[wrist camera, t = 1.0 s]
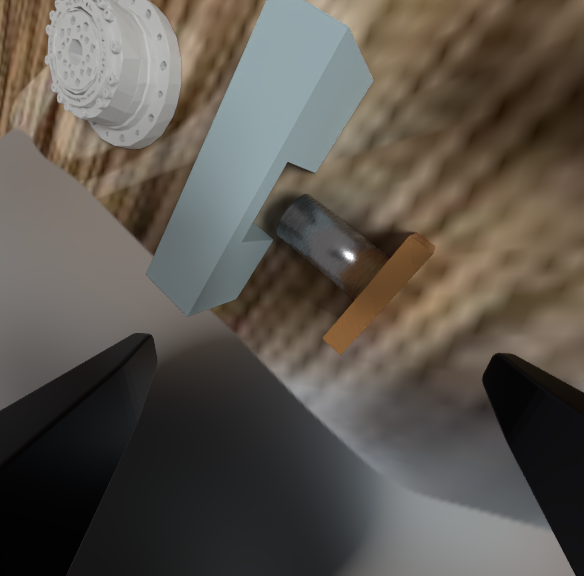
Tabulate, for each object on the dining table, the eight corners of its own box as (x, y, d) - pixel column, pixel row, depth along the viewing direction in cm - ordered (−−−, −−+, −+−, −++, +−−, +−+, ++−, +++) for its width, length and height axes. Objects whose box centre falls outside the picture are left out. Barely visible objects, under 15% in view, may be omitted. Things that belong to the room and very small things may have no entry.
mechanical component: (139, 177, 25) (208, 71, 21) (84, 168, 21) (154, 35, 17) (78, 88, 26) (132, -31, 22) (16, 64, 22) (64, -87, 18)
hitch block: (373, 80, 16) (348, 26, 12) (236, 299, 23) (187, 317, 18) (317, 45, 17) (274, -18, 13) (200, 265, 24) (145, 274, 19)
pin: (435, 246, 16) (433, 253, 13) (361, 328, 19) (340, 355, 15) (333, 171, 18) (303, 156, 14) (278, 256, 21) (239, 263, 17)
